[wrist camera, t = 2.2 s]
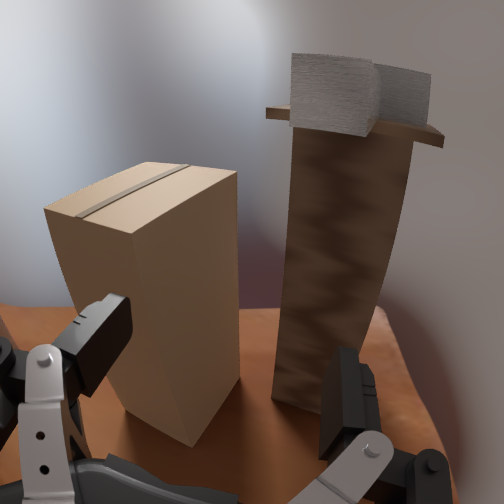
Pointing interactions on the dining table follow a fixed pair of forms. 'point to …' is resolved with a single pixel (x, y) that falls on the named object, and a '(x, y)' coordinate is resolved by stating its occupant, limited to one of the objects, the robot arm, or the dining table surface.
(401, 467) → the robot arm
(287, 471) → the dining table surface
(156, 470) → the dining table surface
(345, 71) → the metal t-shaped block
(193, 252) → the cardboard box
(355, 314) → the tall wooden plank
